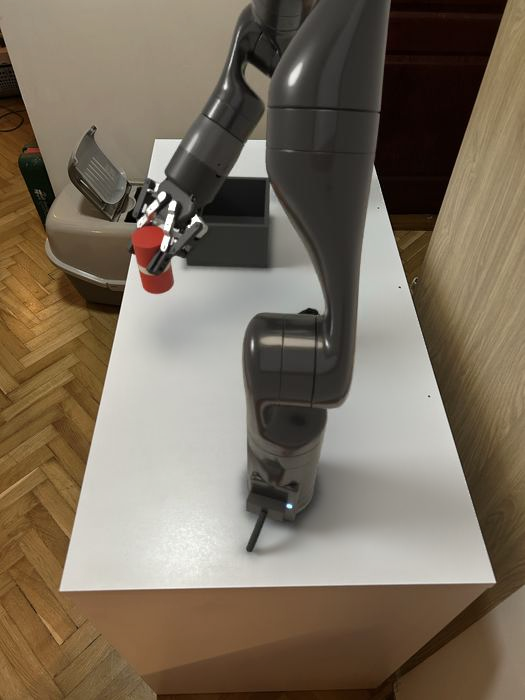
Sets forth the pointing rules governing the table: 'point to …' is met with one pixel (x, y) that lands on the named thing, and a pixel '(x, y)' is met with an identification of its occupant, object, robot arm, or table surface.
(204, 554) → the table surface
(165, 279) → the red cylinder
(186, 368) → the table surface
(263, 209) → the bin
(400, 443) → the table surface
